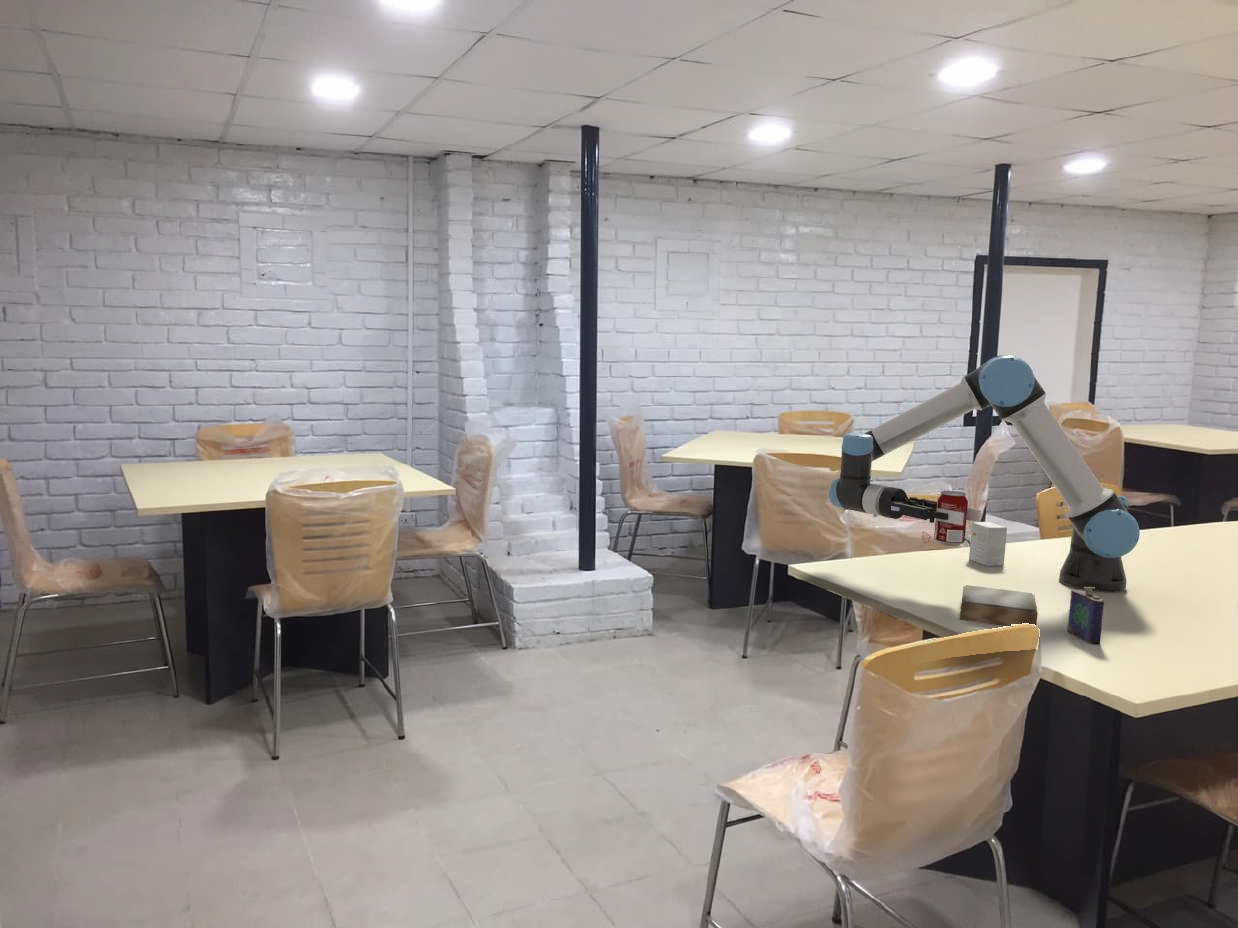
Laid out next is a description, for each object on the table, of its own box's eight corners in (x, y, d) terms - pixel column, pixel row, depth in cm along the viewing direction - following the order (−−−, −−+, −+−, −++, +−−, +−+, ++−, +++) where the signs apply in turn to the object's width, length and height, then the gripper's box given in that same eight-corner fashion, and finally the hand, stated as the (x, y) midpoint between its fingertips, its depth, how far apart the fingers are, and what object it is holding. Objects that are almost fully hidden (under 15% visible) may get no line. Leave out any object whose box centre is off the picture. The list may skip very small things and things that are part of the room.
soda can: (966, 547, 221) (970, 496, 220) (935, 545, 223) (939, 493, 221) (961, 541, 228) (966, 491, 226) (932, 539, 229) (936, 489, 228)
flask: (1064, 630, 202) (1069, 580, 201) (1077, 630, 202) (1082, 580, 201) (1091, 645, 193) (1097, 592, 192) (1104, 645, 193) (1111, 592, 192)
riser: (1032, 610, 217) (1034, 592, 216) (1035, 629, 202) (1037, 610, 201) (961, 601, 222) (963, 584, 221) (959, 619, 207) (961, 601, 206)
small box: (1004, 565, 260) (1007, 527, 258) (985, 566, 258) (989, 527, 257) (985, 558, 267) (989, 521, 266) (968, 559, 266) (971, 521, 264)
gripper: (908, 513, 245) (992, 529, 227) (860, 520, 232) (945, 538, 215) (910, 483, 244) (995, 498, 226) (862, 489, 231) (948, 504, 214)
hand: (971, 517), depth 220 cm, fingers closed on soda can, 6 cm apart
